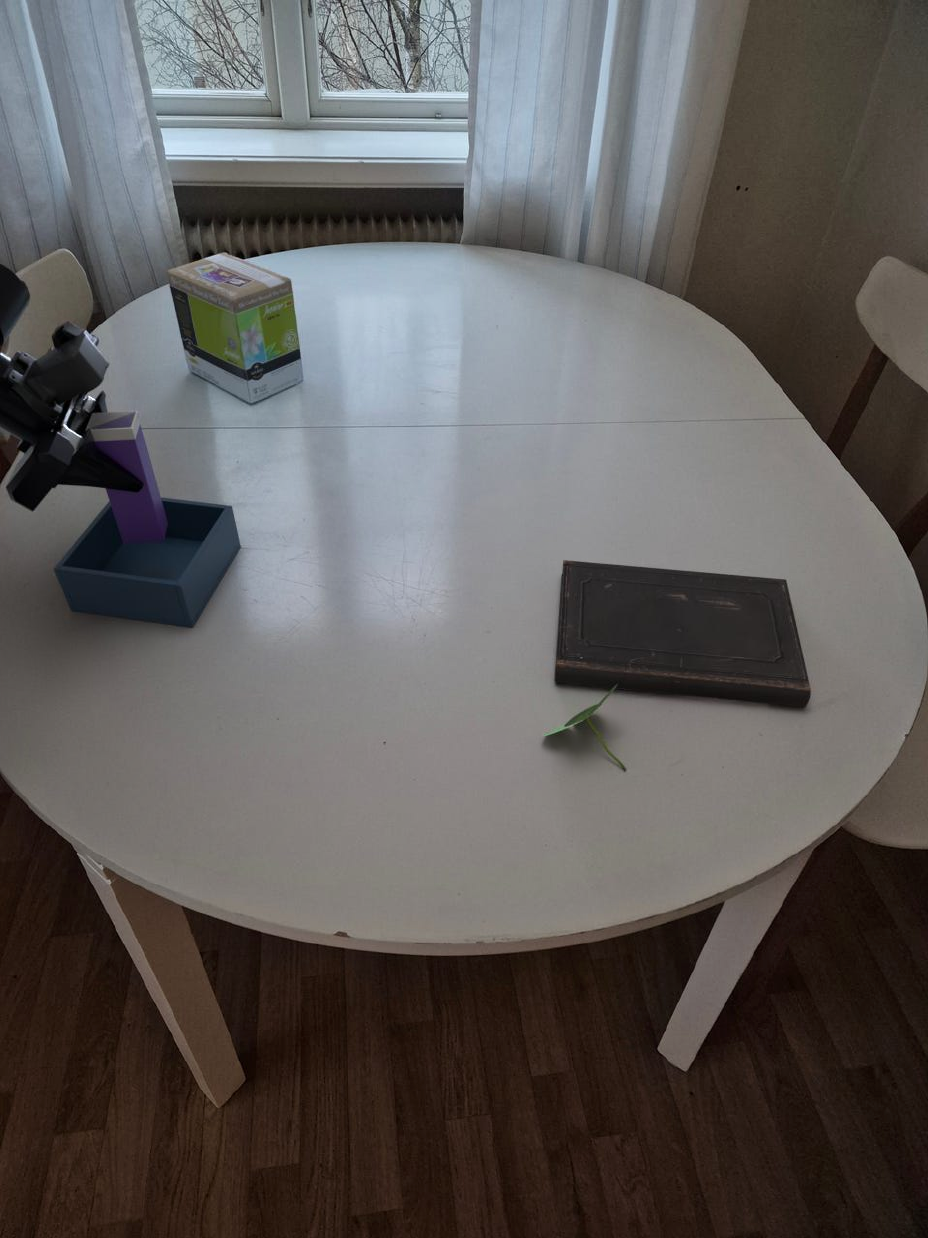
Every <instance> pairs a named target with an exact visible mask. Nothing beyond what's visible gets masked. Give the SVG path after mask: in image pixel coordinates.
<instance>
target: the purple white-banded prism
mask: <svg viewBox="0 0 928 1238" xmlns="http://www.w3.org/2000/svg"><path fill="white" fill-rule="evenodd" d="M88 428H89V429H90V430H91V433H92V435H93V438H94V441H95V443H96V446H97V448H98V449H99V450H101V451H102V452H103V453H105V454H106V455H107V456H109V457H110V458H112V459H113V460H114V461H116V462H117V463H118V464H120V465H121V466H123V467H124V468H125V469H127V470H128V471H129V472H131V473H132V474H133V475H135V476H136V477H137V478H138V479H139V480H140V481H142V482H143V483H144V486H143V488H142V489H141V490H140V491H139V492H129V491H122V490H114V489H106V488H104V489H105V492H106V494H107V498H108V500H109V501H110V504H111V507H112V510H113V513H114V516H115V519H116V522H117V525H118V528H119V531H120V534H121V537H122V540H123V543H124V544H126V543H143V542H160V541H164V539H165V535H166V530H167V526H168V522H167V518H166V515H165V511H164V507H163V504H162V500H161V494H160V493H161V492H160V490H159V487H158V482H157V478H156V476H155V472H154V468H153V464H152V461H151V458H150V454H149V450H148V447H147V443H146V438H145V435H144V432H143V429H142V424H141V419H140V415H139V411H137V410H133V411H132V410H131V411H111V412H110V411H109V412H107V413H92V415H91V418H90V421H89V423H88V426H87V428H86V431H87V429H88ZM109 501H108V502H109Z"/></svg>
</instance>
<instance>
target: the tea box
mask: <svg viewBox="0 0 928 1238" xmlns="http://www.w3.org/2000/svg"><path fill="white" fill-rule="evenodd" d="M166 275H167V279H168V286H169V290H170V295H171V298H172V302H173V307H174V312H175V316H176V320H177V325H178V330H179V335H180V339H181V343H182V347H183V352H184V358H185V361H186V364H187V369H188V371H189V372H192V373H193V374H195V375H197V376H199V377H201V378H202V379H204V380H207V381H208V382H210V383H212V384H214V385H216V386H217V387H220V388H221V389H223V390H225V391H227V392H228V393H231V395H232V394H233V395H234V396H236V397H238V398H240V399H242V400H243V401H246V402H247V403H249V404H255V403H257V402H259V401H261V400H264V399H266V398H269V397H271V396H272V395H275V394H277V393H280V392H282V391H283V390H286V389H289V388H291V387H293V386H295V385H297V384H299V383H301V382H303V381H304V371H303V363H302V362H303V361H302V355H301V354H302V353H301V346H300V345H301V344H300V339H299V332H298V321H297V313H296V307H295V299H294V290H293V284H292V283H293V282H292V279H291V278H289V277H288V276H285V275H282V274H280V273H277V272H275V271H272V270H269V269H267V268H265V267H261V266H260V265H257V264H254V263H252V262H250V261H248V260H244V259H242V258H239V257H236V256H234V255H231V254H229V253H227V252H226V251H225V252H224V251H223V252H220V253H217V254H214V255H210V256H208V257H204V258H201V259H198V260H195V261H193V262H190V263H187V264H183V265H180V266H177V267H173V268H170V269H168V270H166Z"/></svg>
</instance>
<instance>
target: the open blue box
mask: <svg viewBox="0 0 928 1238" xmlns="http://www.w3.org/2000/svg"><path fill="white" fill-rule="evenodd" d="M160 497H161V496H160ZM161 500H162V504H163V507H164V511H165V515H166V518H167V522H168V526H167V530H166V535H165V539H164V541H160V542H143V543H126V544H124V543H123V540H122V537H121V534H120V531H119V528H118V525H117V522H116V519H115V516H114V513H113V510H112V507H111V504H110V501H108V502H107V503H106V504H105V506H104V507H103V508H102V509H101V511H100V512H99V513H97V515H96V516H95V518H94V519H93V520H92V521H91V522H90V524H89V525H88V526H87V527H86V529H84V531H83V532H82V533H81V535H80V536H79V537H78V538H77V540H76V541H74V543H73V545H72V546H71V547H70V548H69V549H68V551H67V552H66V553H65V554H64V555H63V557H61V559H60V560H59V561H58V563H57V564H56V565H55V566H54V567H53V571H54V574H55V576H56V578H57V581H58V583H59V585H60V588H61V590H62V593H63V595H64V598H65V600H66V602H67V605H68V607H69V610H70V611H71V612H79V613H86V614H92V615H99V616H106V617H114V618H120V619H121V618H122V619H127V620H128V619H129V620H135V621H144V622H150V623H158V624H164V625H171V626H172V625H173V626H177V627H186V628H194V626H195V625H196V623H197V621H198V619H199V618H200V616H201V614H202V613H203V611H204V610H205V608H206V607H207V604H209V601H210V599H211V598H212V596H213V594H214V592H215V591H216V590H217V588H218V586H219V585H220V583H221V581H222V579H223V578H224V576H225V574H226V573H227V571H228V569H229V568H230V566H231V564H232V562H233V561H234V559H235V557H236V556H237V554H238V553H239V551H240V549H241V548H242V547H241V541H240V537H239V532H238V527H237V523H236V518H235V515H234V514H235V513H234V508H233V505H229V504H228V505H227V504H221V503H213V502H212V503H211V502H203V501H194V500H188V499H178V498H171V497H164V496H163V497H161Z"/></svg>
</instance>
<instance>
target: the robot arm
mask: <svg viewBox="0 0 928 1238" xmlns="http://www.w3.org/2000/svg"><path fill="white" fill-rule="evenodd" d="M30 302H31V293H30V291H29V287H28V285H27V284H26V282H25V281H24V280H23V279H21V278H20V277H19V275H17V274H16V273H15V272H13V270H11V269H10V268H8V267H7V266H5V264H2V263H0V348H1V347H3V345H4V344H5V343H6V341H7V340H8V338H9V337H10V335H11V334H12V332H13V330H14V329H15V327H16V326H17V324H18V323H19V321H20V320H21V318H22V316H23V314H24V313H25V312H26V310H27V308H28V307H29V305H30ZM51 340H52V341H51V342H52V344H53V347H50V348H48V350H47V352H46V353H45V354H43V355H41V356H40V357H38V358H37V359H36V358H34V357H33V356H31V355H29V354H28V353H27V352H24V351H21V352H20V351H18V350H16V352H15V353H14V354H13V356H12V357H10V356H8V355H7V354H5V353H4V352H2V351H0V429H1V430H3V431H5V432H6V433H8V434H10V435H12V436H13V437H14V438H16V439H18V440H20V441H19V443H18V445H17V446H16V450H18V451H20V452H21V453H23V455H22V456H21V458H20V459H19V461H18V462H17V463H16V465H15V467H14V469H13V471H12V473H11V475H10V477H9V479H8V482H7V484H6V486H5V490H6V492H7V494H8V496H9V499H10V501H12V502H13V503H15V504H17V505H19V506H21V507H23V508H25V509H27V510H28V511H30V512H34V511H35V510H36V509H37V508H38V506H39V505H40V504H41V503H42V501H43V500H44V499H45V498H46V496H47V495H48V494H49V493H50V492H51V490H52V489H56V488H57V486H73V487H74V486H75V487H88V488H89V487H90V488H99V489H105V488H106V489H114V490H122V491H129V492H139V491H140V490H141V489H142V488H143V486H144V483H143V482H142V481H140V480H139V479H138V478H137V477H136V476H135V475H133V474H132V473H131V472H129V471H128V470H127V469H125V468H124V467H123V466H121V465H120V464H118V463H117V462H116V461H114V460H113V459H112V458H110V457H109V456H107V455H106V454H105V453H103V452H102V451H101V450H99V449H98V448H97V446H96V443H95V441H94V438H93V435H92V433H91V430H90V429H89V428H88V429H87V431H86V428H87V426H88V423H89V421H90V418H91V415H92V413H107V412H108V411H109V410H108V407H107V406H108V405H107V402H106V397H107V394H106V392H105V391H104V390H101V391H100V392H99V393H98V395H97V396H96V397H95V399H94V398H93V397H91V396H89V395H88V394H89V393H90V392H92V391H94V390H95V389H97V388H98V387H99V386H100V385H102V383H103V382H104V380H105V375H106V372H107V371H108V368H109V367H110V362H109V361H108V360H107V358H106V357H105V356H104V354H102V352H101V351H100V349H98V346H99V343H100V338H99V337H98V336H97V335H95V334H90V333H89V331H87V330H86V329H83V328H81V327H79V326H78V325H76V324H74V323H72V322H71V321H66V322H64V323H62V324H60V325H58V326H57V327H56V328H55V329H54V331H53V332H52V335H51ZM106 489H105V490H106Z"/></svg>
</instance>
